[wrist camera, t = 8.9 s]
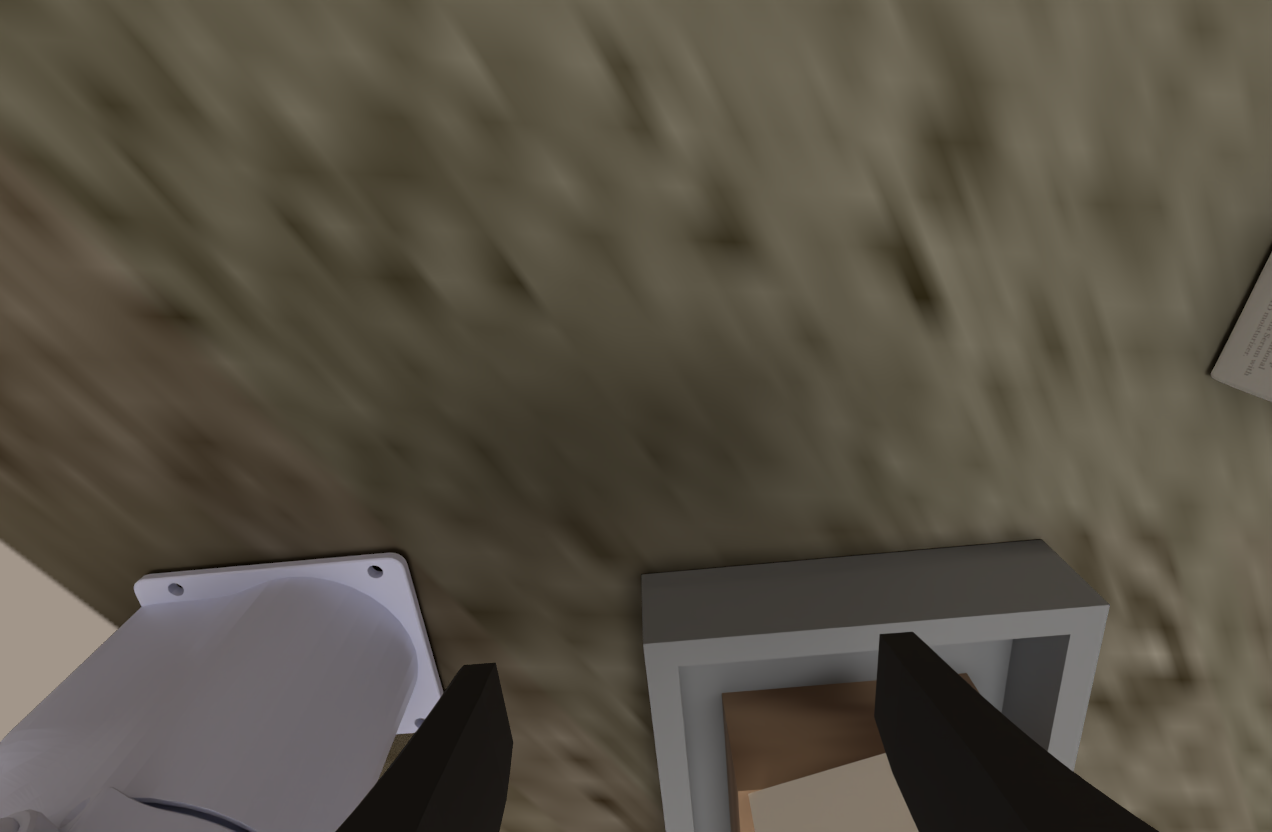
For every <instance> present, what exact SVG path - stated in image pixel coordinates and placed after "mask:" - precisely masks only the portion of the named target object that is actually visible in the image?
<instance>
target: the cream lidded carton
mask: <svg viewBox="0 0 1272 832" xmlns="http://www.w3.org/2000/svg"><path fill="white" fill-rule="evenodd" d="M748 796H749V801H750V807H751V812H752V818H753V823H754V829H755V832H919V831H918V829H917V827H916V825H915V822H914V820H913V818H912V816H911V814H910V811H909V809H908V807H907V805H906V802H905V800H904V798H903V796H902V794H901V791H900V789H899V787H898V785H897V782H896V780H895V778H894V775H893V773H892V770H891V767H890V764H889V761H888V758H887V755H886V753H884V754H880V755H877V756H873V757H870V758H867V759H863V760H860V761H857V762H853V763H850V764H846V765H843V766H840V767H836V768H833V769H830V770H826V771H823V772H819V773H816V774H813V775H809V776H806V777H803V778H799V779H796V780H793V781H789V782H786V783H782V784H779V785H776V786H772V787H769V788H766V789H762V790H759V791H755V792H752V793H749V794H748Z"/></svg>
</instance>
